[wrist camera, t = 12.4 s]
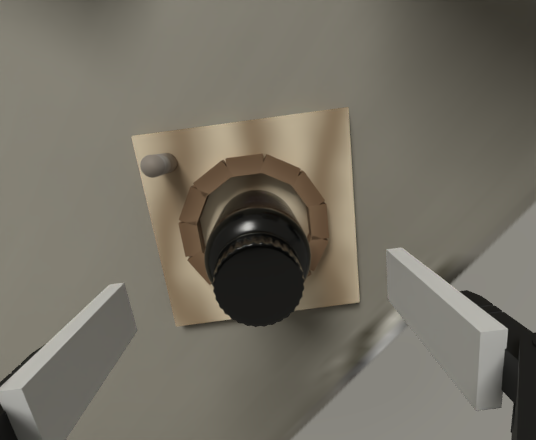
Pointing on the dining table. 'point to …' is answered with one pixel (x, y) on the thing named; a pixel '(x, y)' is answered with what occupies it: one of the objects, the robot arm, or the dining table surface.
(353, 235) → the seat plate
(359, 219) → the dining table surface
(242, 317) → the supplement bottle
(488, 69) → the dining table surface
